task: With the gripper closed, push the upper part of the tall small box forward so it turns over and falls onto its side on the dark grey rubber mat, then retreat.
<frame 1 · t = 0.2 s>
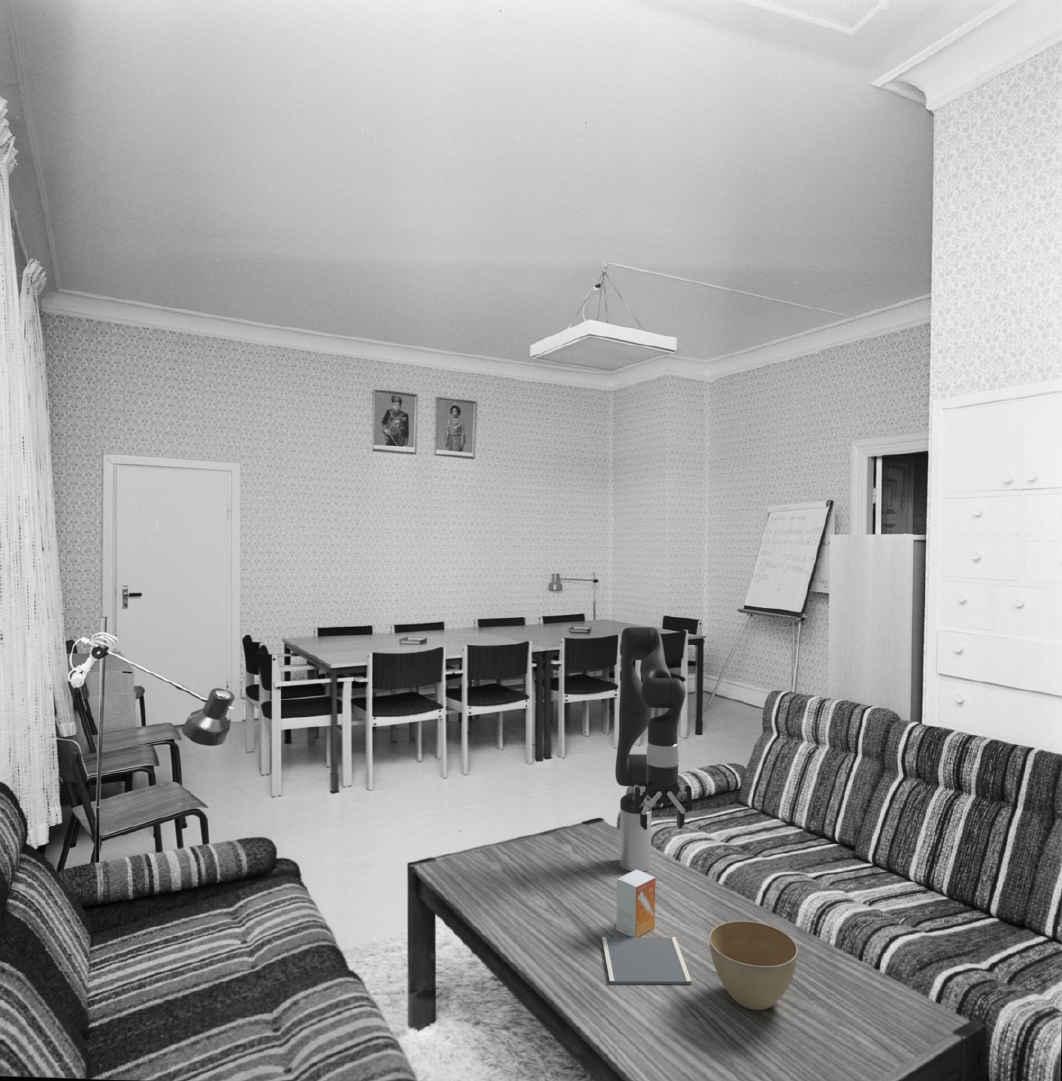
hand: (661, 828, 180), 29 cm above the table, fingers open, 8 cm apart
mat: (644, 960, 174), on the table
beige round bowl: (752, 999, 160), on the table
small box: (635, 930, 188), on the table
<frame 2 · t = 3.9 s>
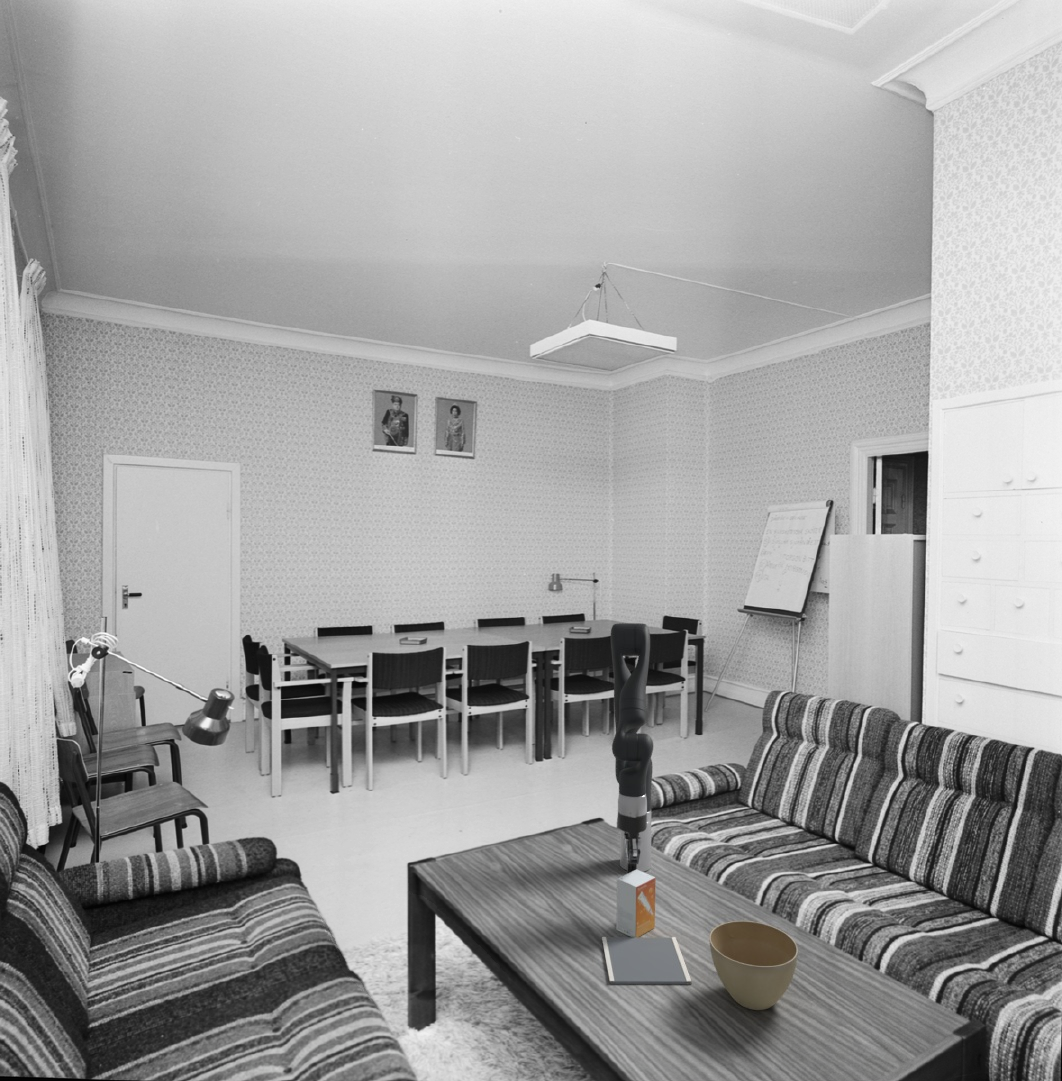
hand: (631, 876, 195), 10 cm above the table, fingers closed
small box: (635, 930, 188), on the table, touching gripper
everything else where it was.
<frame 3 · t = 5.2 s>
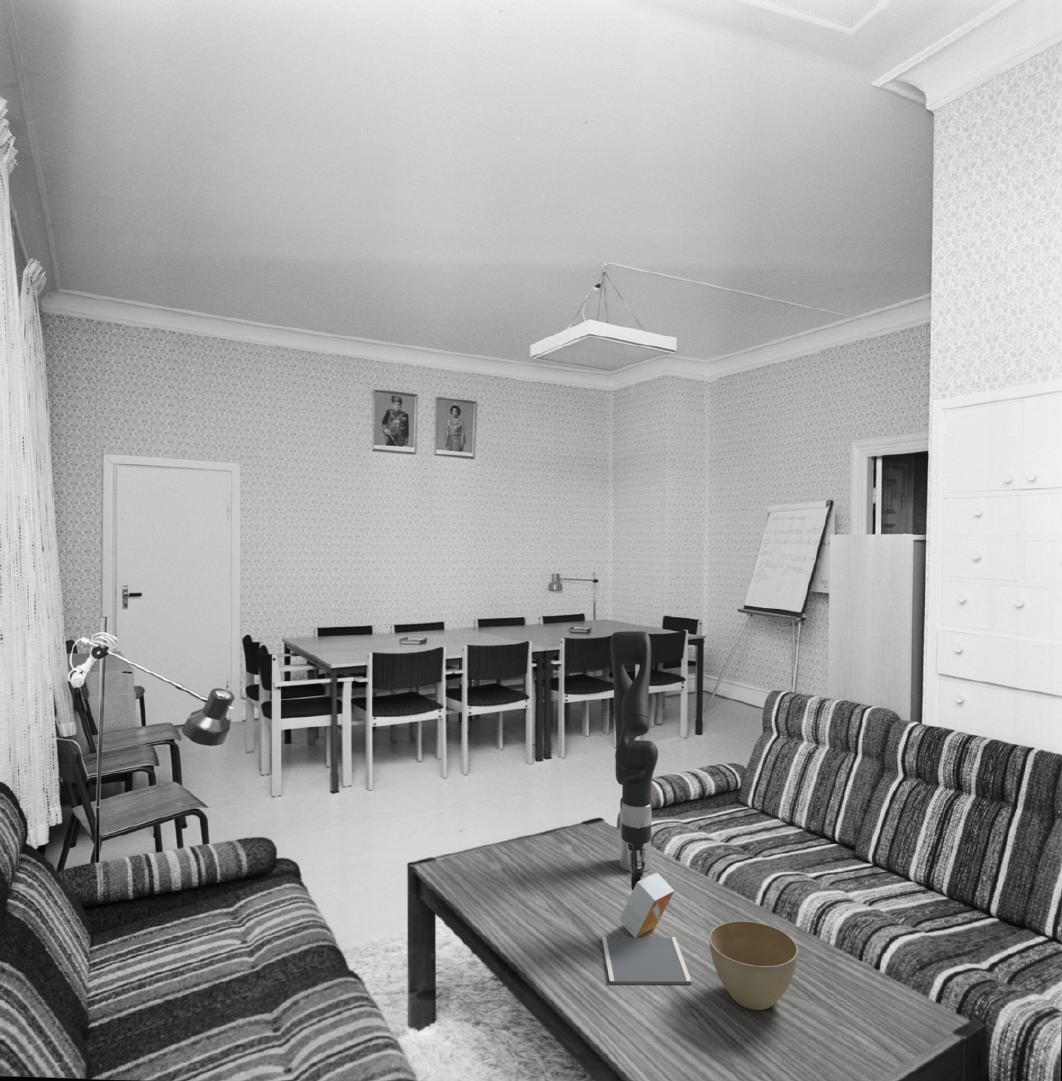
hand: (635, 889, 188), 10 cm above the table, fingers closed
small box: (636, 924, 188), point 1 cm above the table
everything else where it was.
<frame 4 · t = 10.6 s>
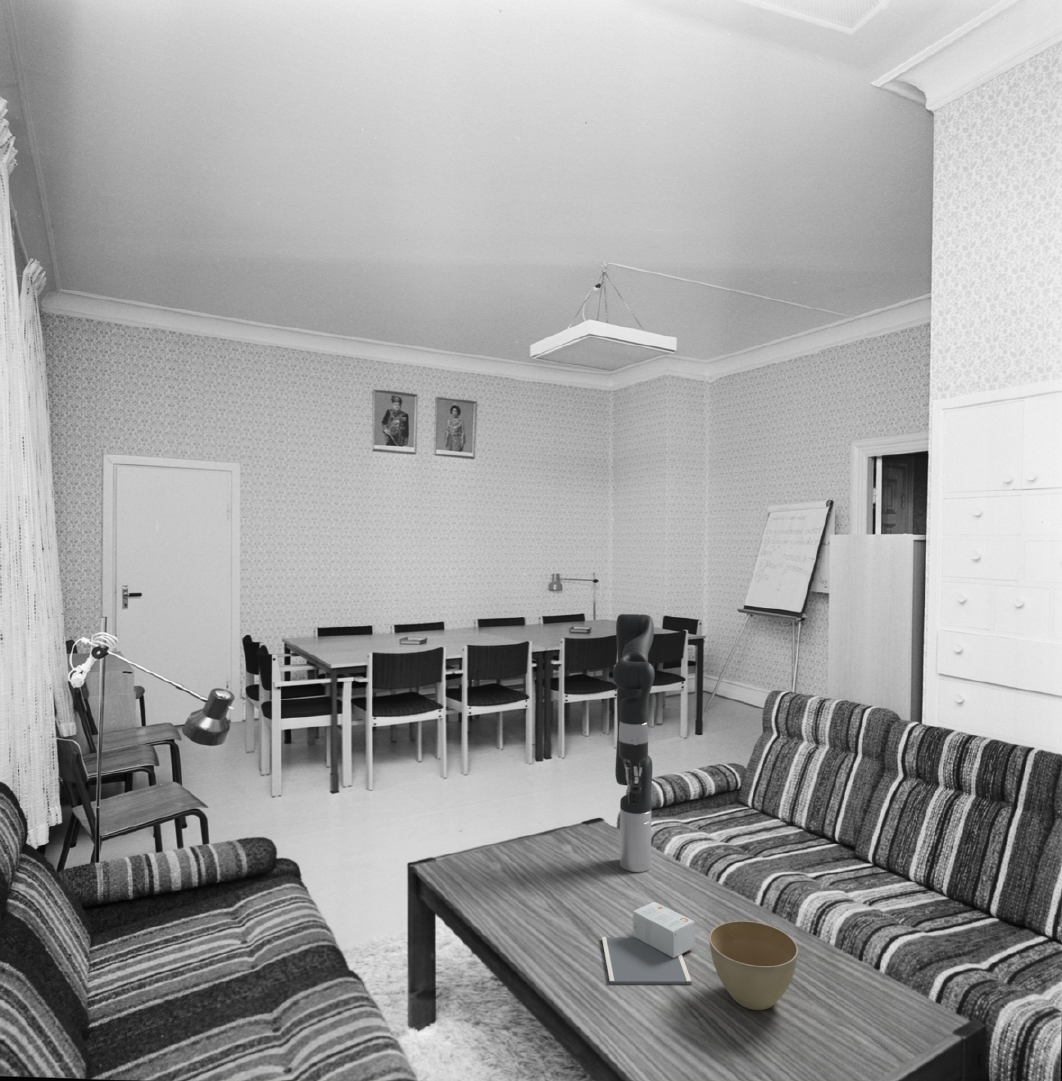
hand: (633, 805, 194), 29 cm above the table, fingers closed
small box: (643, 918, 187), point 4 cm above the table, touching mat
everything else where it was.
at the end: small box tilted 89°; small box touching mat; small box inside the target area (9.4 cm from its centre), point 3.6 cm above the table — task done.
